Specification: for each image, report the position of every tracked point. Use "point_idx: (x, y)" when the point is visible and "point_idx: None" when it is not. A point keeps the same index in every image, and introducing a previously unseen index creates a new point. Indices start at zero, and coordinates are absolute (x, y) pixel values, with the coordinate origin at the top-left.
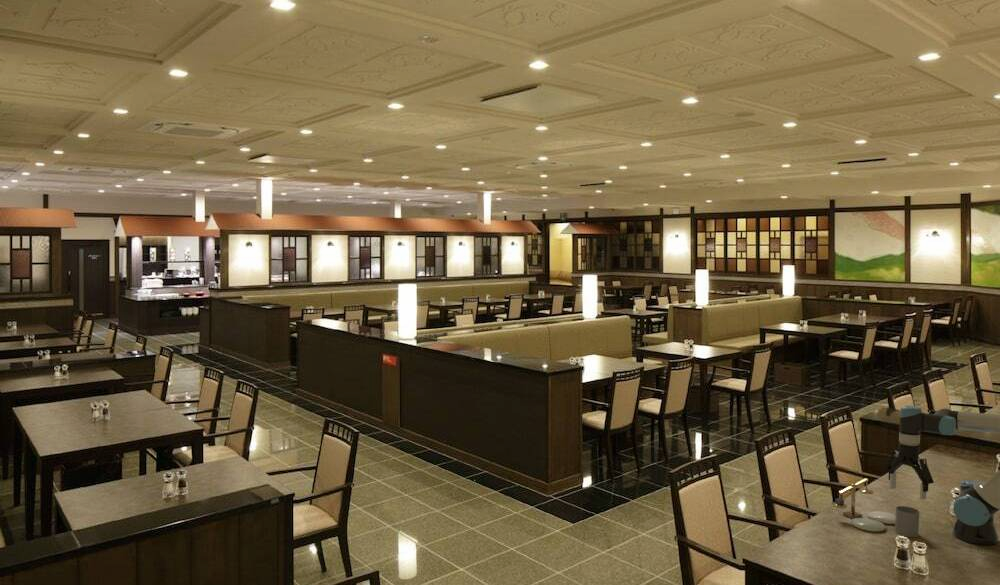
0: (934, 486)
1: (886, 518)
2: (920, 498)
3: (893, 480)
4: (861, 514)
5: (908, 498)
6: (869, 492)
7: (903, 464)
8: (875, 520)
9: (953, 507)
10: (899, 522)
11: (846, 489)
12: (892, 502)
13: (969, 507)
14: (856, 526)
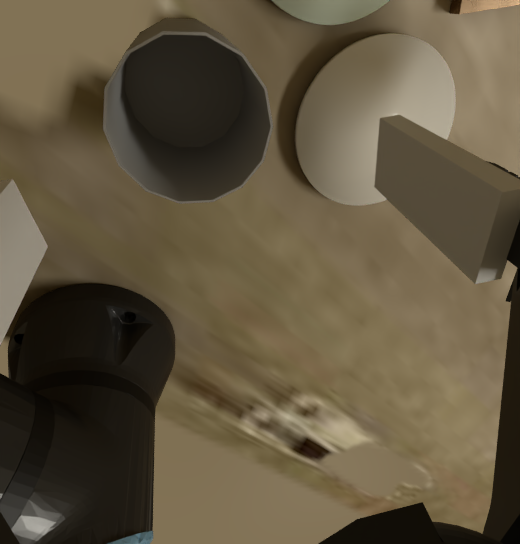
0: (460, 456)
1: (355, 119)
2: (3, 184)
3: (426, 188)
4: (462, 7)
5: (453, 363)
6: None
7: (422, 504)
8: (361, 17)
9: None
10: (176, 23)
11: None
12: (465, 299)
13: None
14: None
